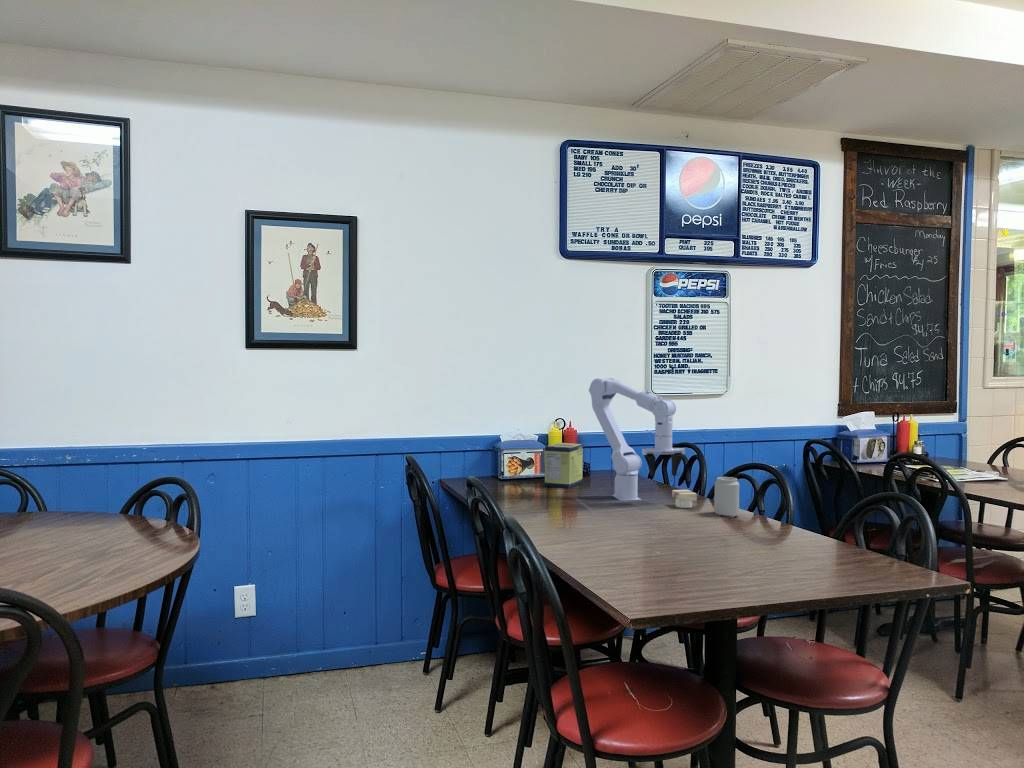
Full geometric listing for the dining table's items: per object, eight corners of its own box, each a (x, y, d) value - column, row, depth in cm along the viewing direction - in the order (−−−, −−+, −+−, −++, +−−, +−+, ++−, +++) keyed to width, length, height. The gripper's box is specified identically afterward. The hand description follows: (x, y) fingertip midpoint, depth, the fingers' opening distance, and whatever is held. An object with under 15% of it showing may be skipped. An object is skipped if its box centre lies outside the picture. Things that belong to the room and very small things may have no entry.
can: (741, 518, 234) (742, 479, 234) (717, 517, 234) (718, 479, 234) (735, 513, 242) (735, 476, 241) (711, 512, 242) (712, 475, 241)
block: (672, 497, 252) (672, 490, 252) (687, 496, 253) (687, 489, 253) (680, 501, 245) (680, 494, 245) (696, 500, 246) (696, 493, 246)
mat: (629, 504, 255) (629, 502, 255) (655, 503, 256) (655, 501, 256) (641, 511, 243) (641, 509, 243) (668, 510, 244) (668, 509, 244)
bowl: (673, 506, 252) (673, 497, 252) (687, 506, 252) (688, 497, 252) (679, 509, 246) (679, 500, 246) (694, 509, 247) (694, 500, 247)
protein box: (582, 482, 299) (583, 443, 298) (569, 488, 285) (570, 447, 284) (558, 480, 303) (558, 442, 303) (544, 486, 289) (544, 446, 288)
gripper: (647, 437, 249) (646, 478, 249) (688, 436, 251) (688, 477, 251) (640, 435, 255) (639, 474, 256) (680, 434, 258) (680, 473, 258)
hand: (663, 475), depth 254 cm, fingers open, 7 cm apart
